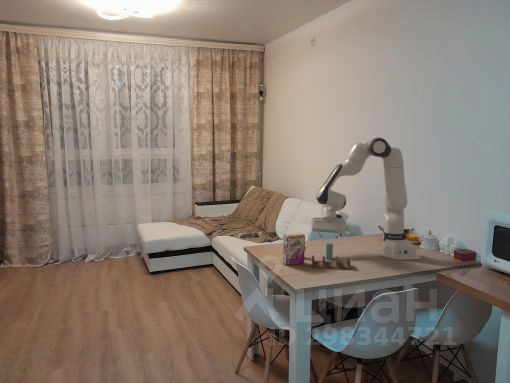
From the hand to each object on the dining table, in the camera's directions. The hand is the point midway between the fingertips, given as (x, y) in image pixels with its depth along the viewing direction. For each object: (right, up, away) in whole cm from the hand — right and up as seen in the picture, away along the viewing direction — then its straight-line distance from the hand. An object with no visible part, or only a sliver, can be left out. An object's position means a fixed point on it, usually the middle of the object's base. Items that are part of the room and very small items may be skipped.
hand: (328, 237), depth 242 cm
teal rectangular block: (-1, -11, -4) cm, 12 cm away
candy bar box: (-22, -13, -15) cm, 29 cm away
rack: (-2, -13, -18) cm, 22 cm away
